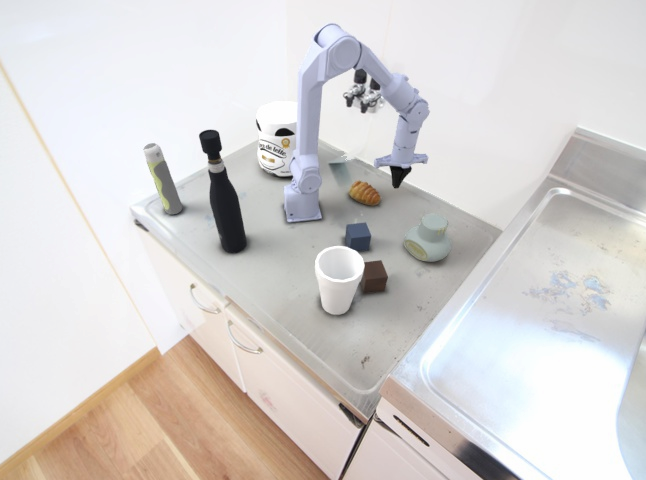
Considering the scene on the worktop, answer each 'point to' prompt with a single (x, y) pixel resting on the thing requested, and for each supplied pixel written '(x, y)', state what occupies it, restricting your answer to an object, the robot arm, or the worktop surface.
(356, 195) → the pastry
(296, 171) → the robot arm
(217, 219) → the wine bottle
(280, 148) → the milk container
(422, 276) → the worktop surface
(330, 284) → the foam cup
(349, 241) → the slate block
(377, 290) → the walnut block
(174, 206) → the spray bottle
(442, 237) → the air freshener
